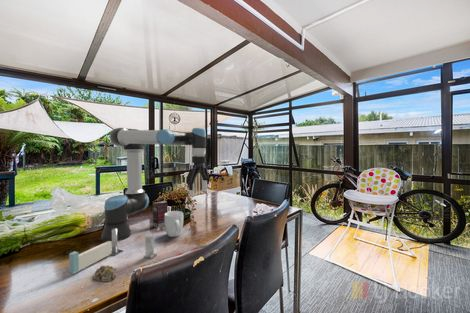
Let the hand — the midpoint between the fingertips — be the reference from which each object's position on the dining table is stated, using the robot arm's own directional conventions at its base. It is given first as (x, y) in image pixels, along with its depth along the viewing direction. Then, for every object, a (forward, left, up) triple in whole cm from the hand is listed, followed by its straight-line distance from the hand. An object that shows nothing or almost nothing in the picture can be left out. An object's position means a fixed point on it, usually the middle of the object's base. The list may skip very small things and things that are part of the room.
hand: (198, 193), depth 116 cm
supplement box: (-36, +13, -27) cm, 47 cm away
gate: (-32, -38, -26) cm, 56 cm away
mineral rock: (-19, -42, -28) cm, 54 cm away
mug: (-17, +2, -27) cm, 32 cm away
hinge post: (-32, -26, -27) cm, 50 cm away
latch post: (-13, -24, -27) cm, 38 cm away
